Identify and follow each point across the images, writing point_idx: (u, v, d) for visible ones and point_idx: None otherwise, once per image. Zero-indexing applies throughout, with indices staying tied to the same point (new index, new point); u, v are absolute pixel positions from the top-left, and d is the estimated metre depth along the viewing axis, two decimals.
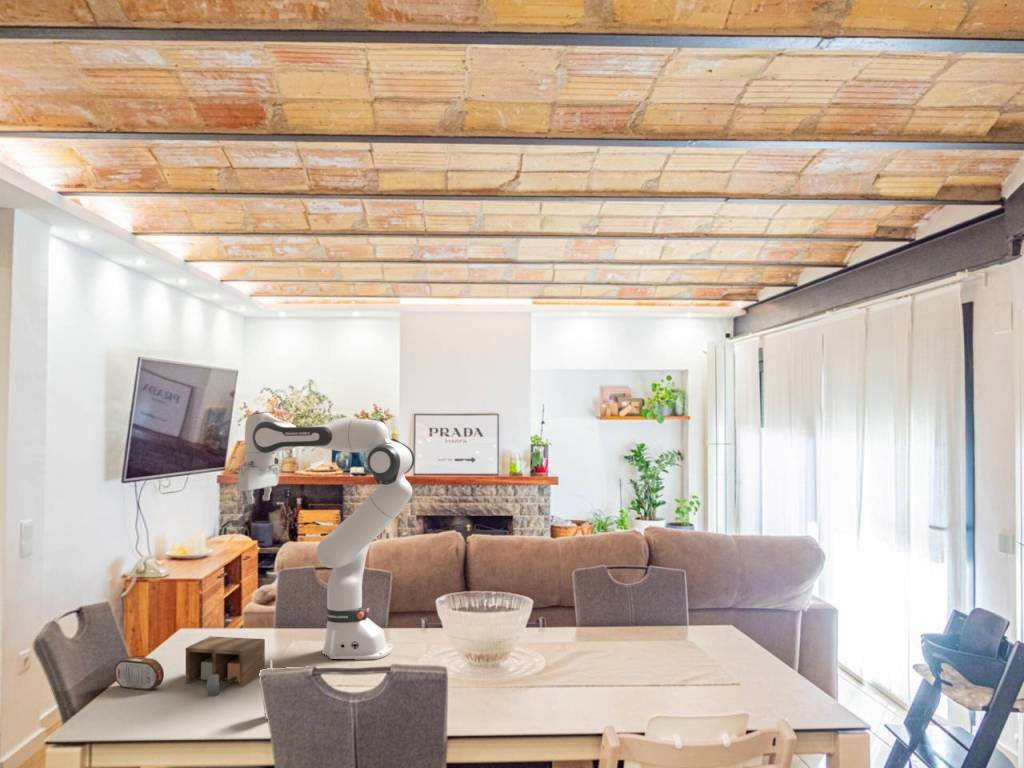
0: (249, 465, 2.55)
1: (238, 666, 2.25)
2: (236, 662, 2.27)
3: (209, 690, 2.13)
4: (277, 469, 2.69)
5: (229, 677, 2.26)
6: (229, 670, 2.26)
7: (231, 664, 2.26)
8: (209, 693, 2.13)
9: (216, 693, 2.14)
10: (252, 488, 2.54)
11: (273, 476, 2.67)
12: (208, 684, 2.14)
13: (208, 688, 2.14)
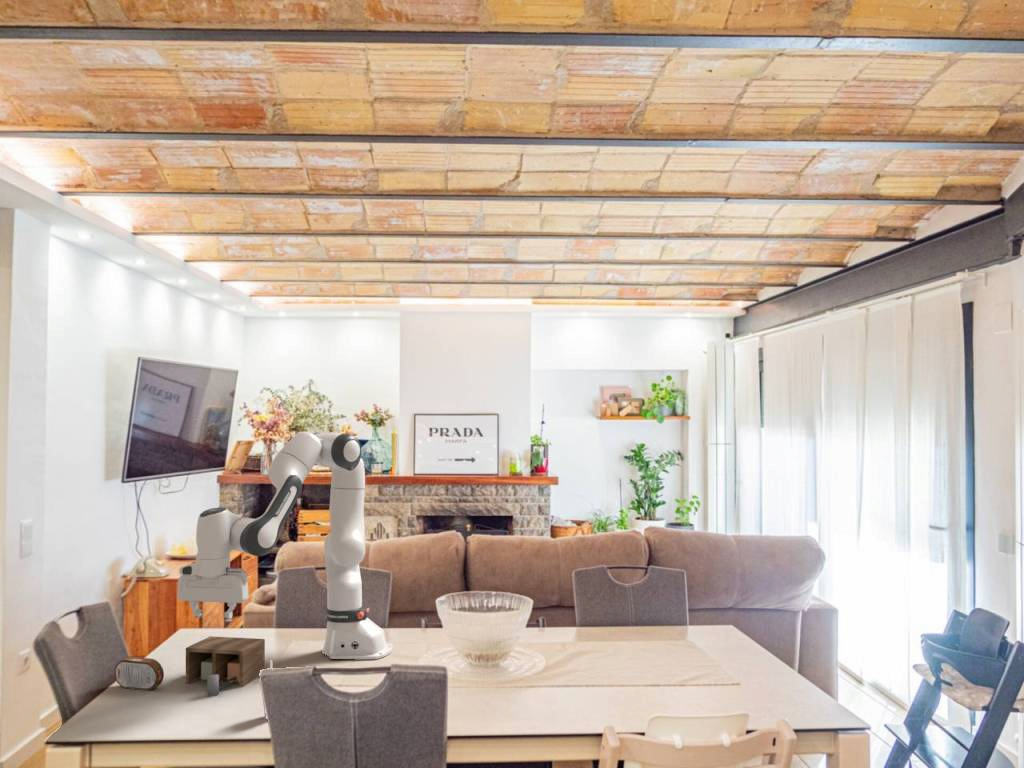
0: None
1: (238, 666, 2.25)
2: (236, 662, 2.27)
3: (209, 690, 2.13)
4: None
5: (229, 677, 2.26)
6: (229, 670, 2.26)
7: (231, 664, 2.26)
8: (209, 693, 2.13)
9: (216, 693, 2.14)
10: None
11: None
12: (208, 684, 2.14)
13: (208, 688, 2.14)
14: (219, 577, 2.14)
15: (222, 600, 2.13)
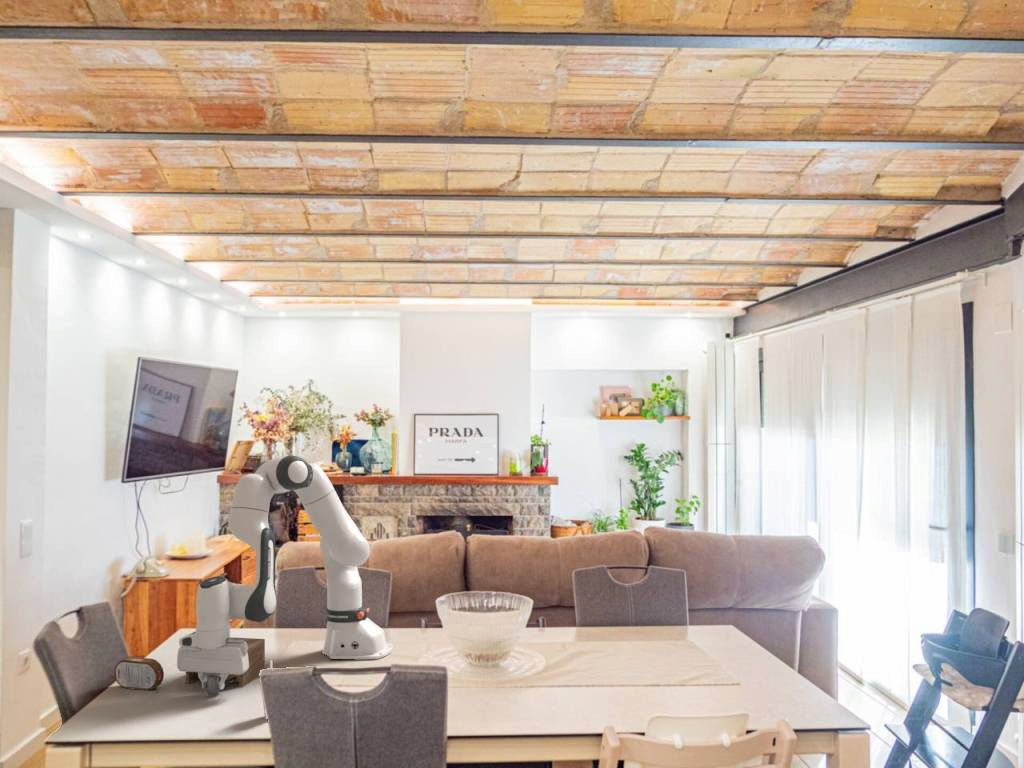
0: None
1: None
2: None
3: (209, 690, 2.13)
4: None
5: (229, 677, 2.26)
6: None
7: None
8: (209, 693, 2.13)
9: (216, 693, 2.14)
10: None
11: None
12: (208, 684, 2.14)
13: (208, 688, 2.14)
14: (219, 648, 2.13)
15: (222, 671, 2.12)
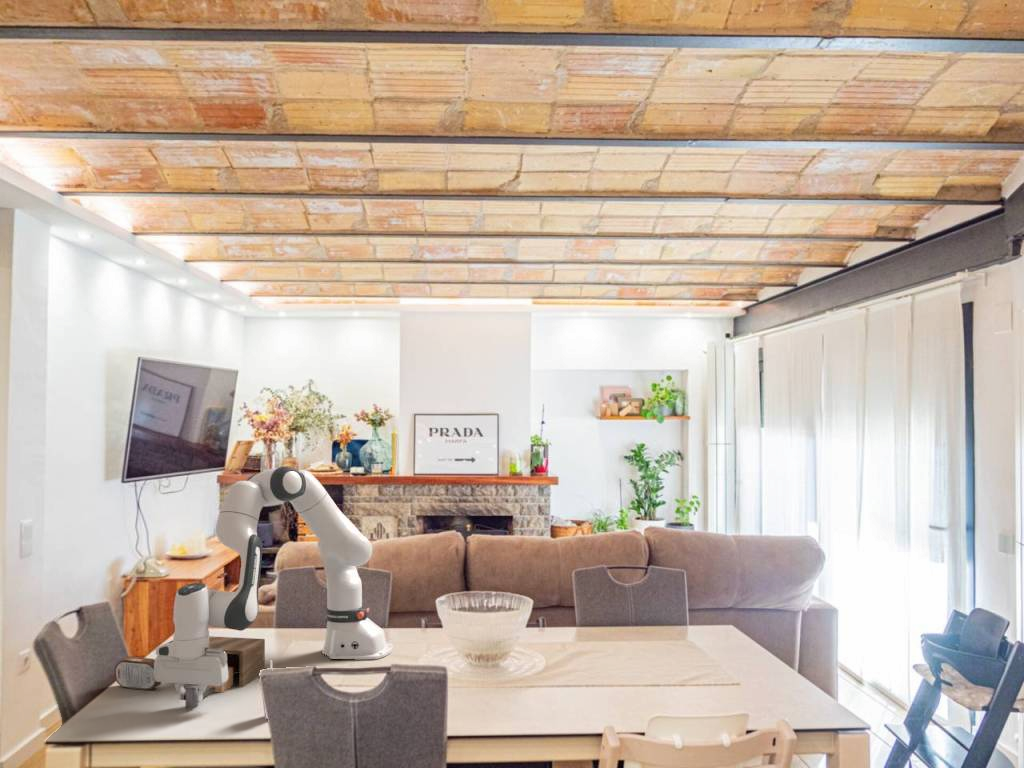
0: None
1: None
2: None
3: (188, 702, 2.04)
4: None
5: (207, 688, 2.17)
6: None
7: None
8: (188, 705, 2.04)
9: (195, 705, 2.05)
10: None
11: None
12: (187, 696, 2.05)
13: (187, 700, 2.05)
14: (197, 658, 2.04)
15: (200, 683, 2.03)
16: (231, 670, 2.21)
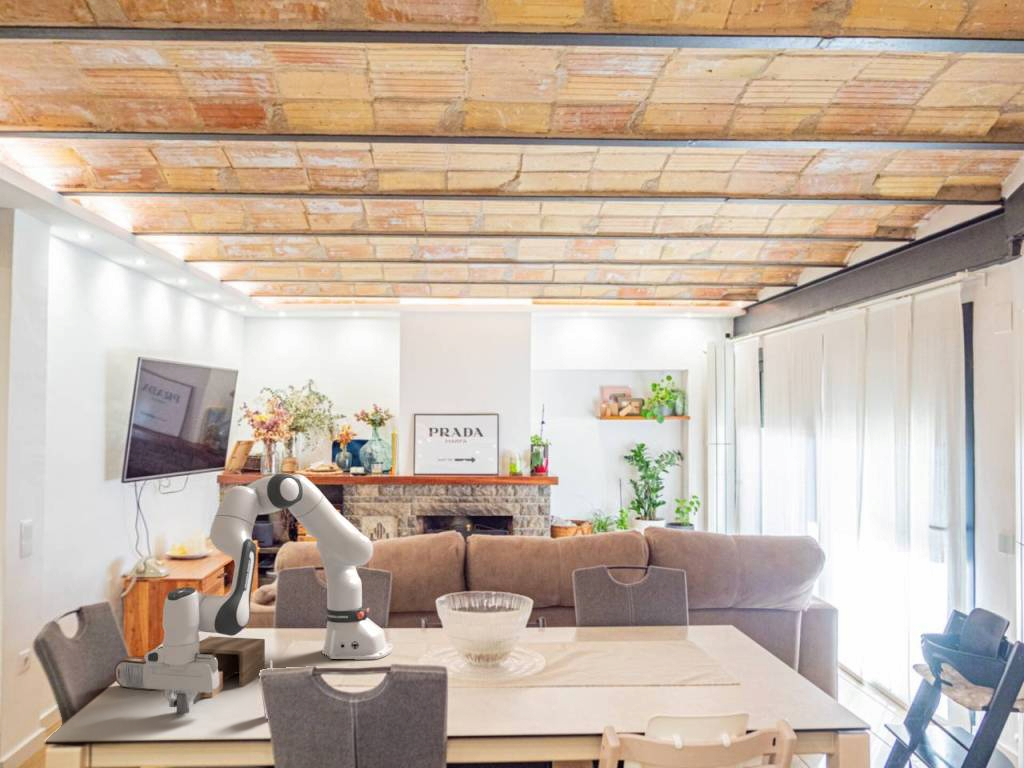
0: None
1: None
2: None
3: (179, 708, 2.00)
4: None
5: (197, 693, 2.13)
6: None
7: None
8: (179, 711, 2.00)
9: (186, 711, 2.01)
10: None
11: None
12: (178, 702, 2.01)
13: (178, 706, 2.01)
14: (187, 664, 1.99)
15: (190, 689, 1.99)
16: (221, 674, 2.18)
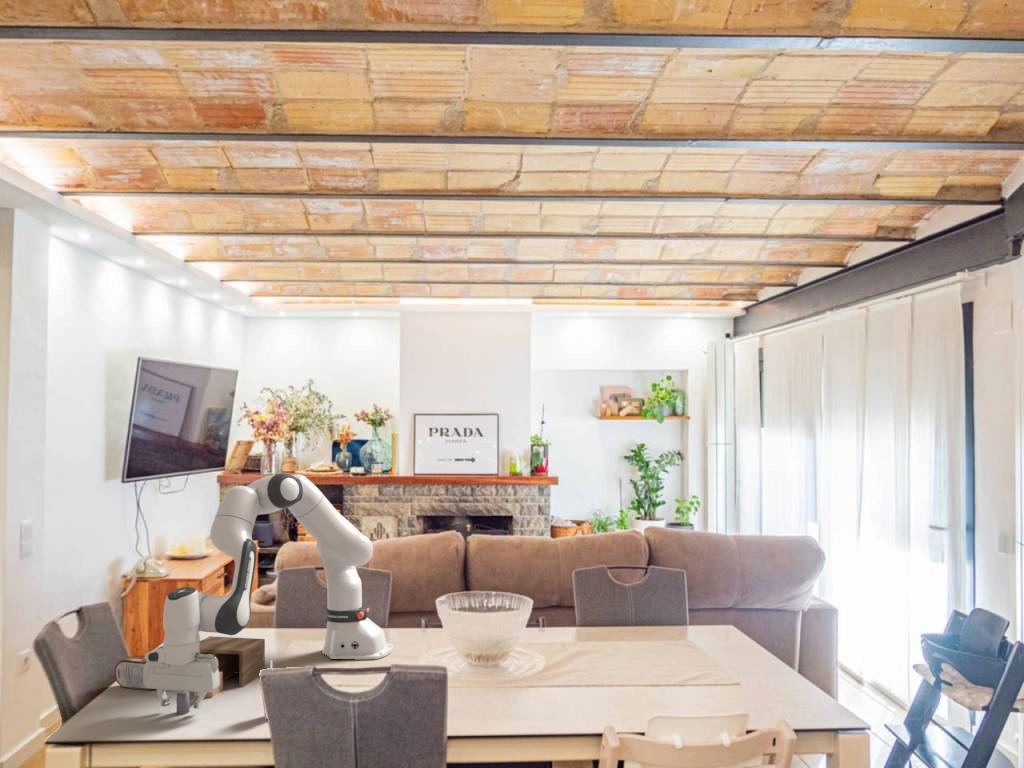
0: None
1: None
2: None
3: (179, 708, 2.00)
4: None
5: None
6: None
7: None
8: (179, 711, 2.00)
9: (187, 711, 2.01)
10: None
11: None
12: (178, 702, 2.01)
13: (178, 706, 2.01)
14: (188, 664, 1.99)
15: (191, 689, 1.99)
16: (221, 675, 2.18)
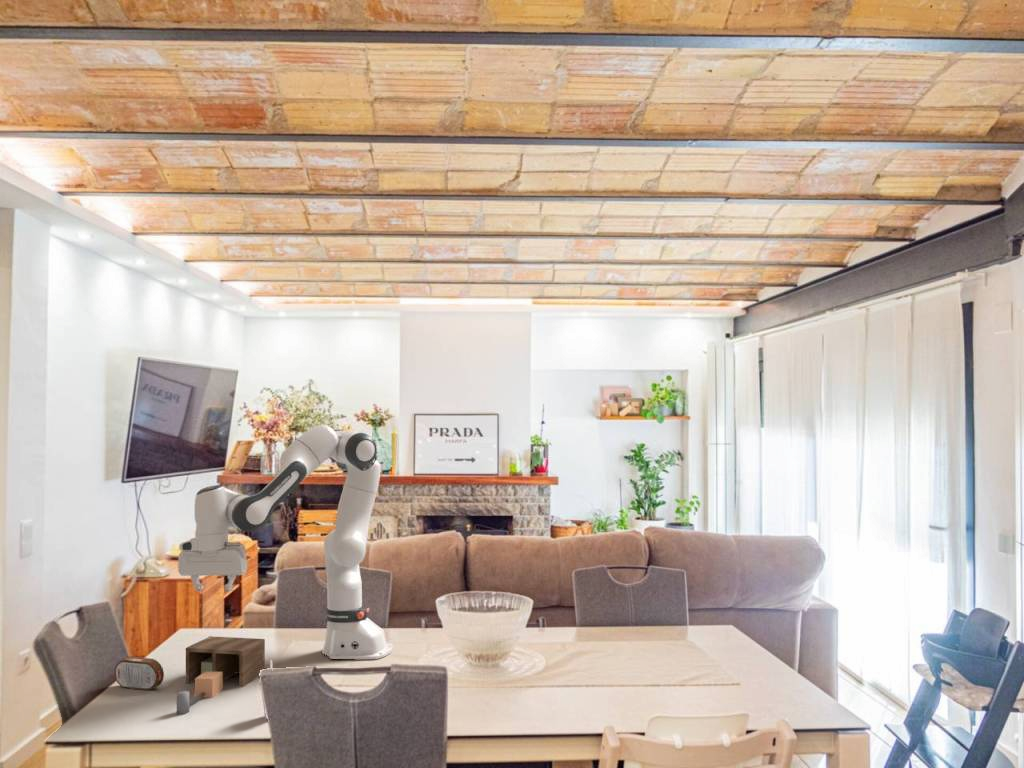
0: None
1: (207, 681, 2.13)
2: (204, 677, 2.14)
3: (179, 708, 2.00)
4: None
5: (197, 693, 2.13)
6: (197, 686, 2.13)
7: (199, 679, 2.13)
8: (179, 711, 2.00)
9: (187, 711, 2.01)
10: None
11: None
12: (178, 702, 2.01)
13: (178, 706, 2.01)
14: (218, 551, 2.23)
15: (222, 573, 2.22)
16: (221, 675, 2.18)
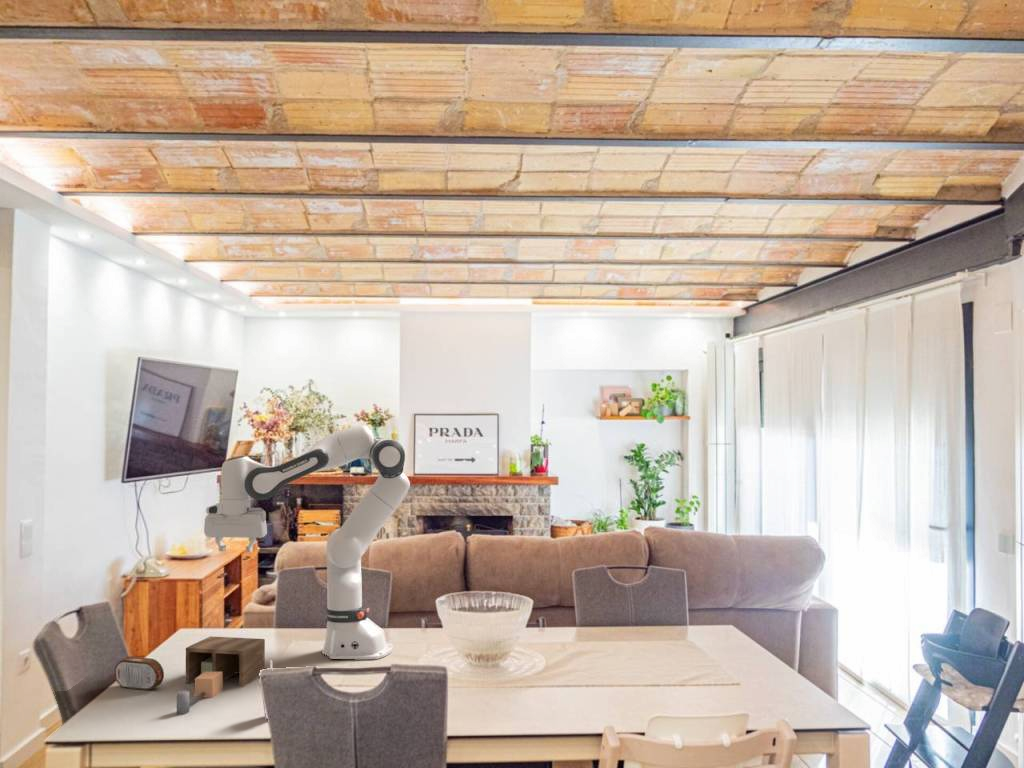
0: None
1: (207, 681, 2.13)
2: (204, 677, 2.14)
3: (179, 708, 2.00)
4: None
5: (197, 693, 2.13)
6: (197, 686, 2.13)
7: (199, 679, 2.13)
8: (179, 711, 2.00)
9: (187, 711, 2.01)
10: None
11: None
12: (178, 702, 2.01)
13: (178, 706, 2.01)
14: (241, 515, 2.44)
15: (244, 535, 2.43)
16: (221, 675, 2.18)
